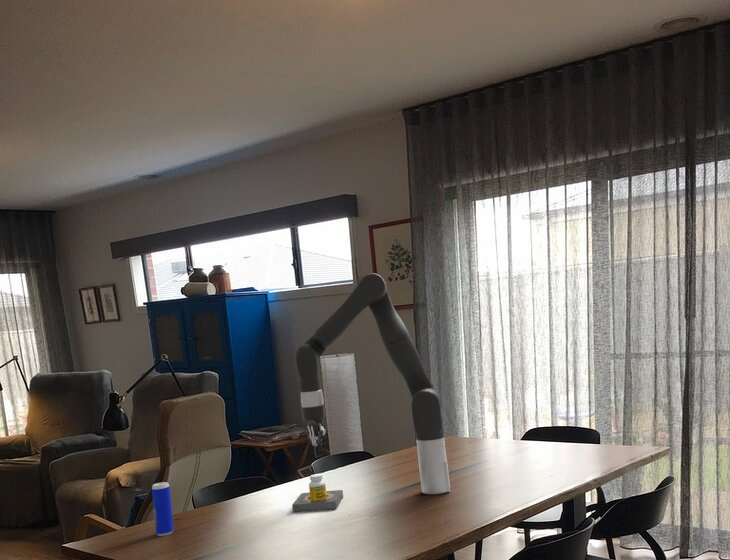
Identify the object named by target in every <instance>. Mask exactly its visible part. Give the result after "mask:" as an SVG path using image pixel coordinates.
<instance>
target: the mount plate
mask: <svg viewBox="0 0 730 560" xmlns="http://www.w3.org/2000/svg"><path fill="white" fill-rule="evenodd" d="M326 494H327V497H326V498H324V499H319V500H311V499H310V491H309V492H301V493H300V495H299V496H298V497H297V498H296V499H295V501H294V502H293V503H292V505H291V507H292V513H296V514H297V513H309V512H319V511H320V512H322V511H331V510H330V509H335V510H337V509H338V508H337V507H339V506H340V504H341V503H342V501H341V500H343V499H344V492H343V489H336V490H326ZM321 510H322V511H321Z"/></svg>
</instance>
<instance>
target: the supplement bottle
mask: <svg viewBox="0 0 730 560" xmlns="http://www.w3.org/2000/svg"><path fill="white" fill-rule="evenodd" d="M309 479H310V482H309V484H308V488H309V489H308V490H309V492H310V499H311V500H319V499H324V498H326V497H327V494H326V491H327V487H326V481H325V480H324V479H323V474H322V473H315V474H311V475H310V476H309Z"/></svg>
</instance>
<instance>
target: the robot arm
mask: <svg viewBox="0 0 730 560" xmlns="http://www.w3.org/2000/svg"><path fill="white" fill-rule="evenodd" d="M367 307H368V308H369V310H370V311H371V313H372V314H373V317H374V319H375V323H376V326H377V328H378V332H379V335H380V338H381V341H382V344H383V346H384V348H385V350H386V352H387V354H388V356H389V358H390V360H391V362H392V363H393V364H394V365H393V366H395V368H396V370H397V371H398V372H399V373H400V375H401V376H402V377H403V380H404V381H405V383H406V386H407V388H408V390H409V393H410V397H411V413H412V415H411V416H412V421H413V422H412V423H413V428H414V429H413V430H414V432H415V433H414V434H415V439H416V451H417V458H418V467H419V469H418V470H419V475H420V476H419V477H420V478H419V479H420V486H421V493H423V494H425V495H438V494H439V495H440V494H444V493H449V492H451V483H450V476H449V475H450V474H449V466H448V459H447V451H446V442H445V435H444V434H445V433H444V426H443V420H442V412H441V410H442V409H441V397H440V394H438V392H437V390H436V389H435V387H434V385H433V384H432V381H431V380H430V379H429V377H428V375H427V374H426V371H425V368H424V367H423V363H422V361H421V357H420V355H419V353H418V350H417V347H416V345H415V343H414V341H413V338H412V337H411V335H410V332H409V329H408V328H407V326H406V325H405V324H404V322H403V320H402V318H401V317H400V316H399V315H398V312H397V311H396V310H395V307H394V305H393V303H392V300H391V297H390V294H389V292H388V289H387V284H386V280H384V277H382V275H379V274H378V273H367V274H365V275H364V276H363V277H361V279H360V280H359V282H358V284H357V285H356V287H355V289H353V291H352V293H351V294H349V296H348V297H347V298H346V300H344V302H343V303H342V304H341V305H340V306H339V307H338V308H337V309H336V310H335V311H334V312H333V313H332V314H331V315H330V316H329V317H328V318H327V319H326V320H325V321H324V322H323V323H322V324H321V325H320V326H319V327H318V328H317V329H316V330H315V332H314V333H313V335H312V336H311V337H310V338H309V339H307V340H306V342H305V343H304V344H302V345H300V346H299V347H298V348H297V349H296V351H295V363H296V368H297V373H298V376H299V377H298V378H299V389H300V403H301V404H300V405H301V414H302V419H303V421H307V422H306V424H307V427H304V432H305V434H306V436H307V440H308V442H309V444H311V445H312V447H313V451H314V456H315V458H323V456H324V454H323V453H324V452H323V444H325V443H326V440H327V435H328V433H329V431H328V429H327V428H324V421H323V419H324V418H325V417H326V407H325V399H324V395H323V389H322V382H321V381H322V380H321V376H320V374H319V367H318V359H319V358H320V357H321V356H322V355H323V354H324V352H326V350H327V349H329V347H331V346H333V344H334V343H335V342H336V341H337V339H339V337H341V336H342V334H343V333H344V332H345V331H346V330H347V329H348V328H349V326H350V325H352V322H354V320H355V319H356V318H357V317H358V315H359V314H360V313H361V312H362V311H364V310H365V309H366V308H367Z"/></svg>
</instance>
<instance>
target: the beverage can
mask: <svg viewBox="0 0 730 560" xmlns="http://www.w3.org/2000/svg"><path fill="white" fill-rule="evenodd" d="M151 487H152V488H151V494H152V505H153V506H152V507H153V514H154V515H153V517H154V525H155V526H154V527H155V534H156V535H157V536H159V537H163V536H168V535H171V534H172V533H173V532H174V524H173V523H174V521H173V511H172V509H173V508H172V499H171V488H170V484H169V482H168V481H162V482H161V481H160V482H157V483H154V484H152V486H151Z"/></svg>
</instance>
